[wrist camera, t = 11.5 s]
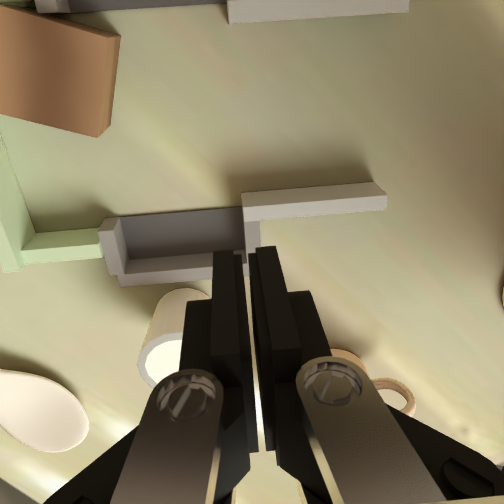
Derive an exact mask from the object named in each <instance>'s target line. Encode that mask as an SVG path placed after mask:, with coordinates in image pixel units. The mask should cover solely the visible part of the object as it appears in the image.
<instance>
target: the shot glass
mask: <svg viewBox="0 0 504 504" xmlns="http://www.w3.org/2000/svg"><path fill="white" fill-rule="evenodd" d="M203 299H210V297H209V296H208V295H206V294H204V293H203V292H201V291H199V290H195V289H191V288H181V289H175V290H173V291H171V292H169V293H167V294H165V295H164V296H163V297H162V298H161V299H160V301H159V302H158V304H157V307H156V309H155V312H154V315H153V318H152V320H151V323H150V326H149V329H148V331H147V334H146V337H145V340H144V342H143V345H142V348H141V351H140V354H139V358H138V363H137V366H138V370H139V373H140V376H141V378H142V379H143V380H144V381H145V382H146V383H147V384H148V385H149V386H150V387H152V388H154V387H155V386H156V385H157V384H158V383H159V382H160V381H161V380H162V379H163V378H165V377H167V376H168V375H170V374H172V373H174V372H177V371H179V362H180V353H181V345H182V336H183V327H184V319H185V310H186V303H187V301H192V300H203Z"/></svg>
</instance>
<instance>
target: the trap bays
mask: <svg viewBox="0 0 504 504" xmlns="http://www.w3.org/2000/svg"><path fill="white" fill-rule="evenodd" d="M34 1H35V5H36V8H37V12H38V13H41V14H61V13H77V12H92V11H107V10H123V9H138V8H154V7H169V6H185V5H200V4H216V3H227V1H231V0H34ZM97 232H98V236H99V240H100V243H101V247H102V251H103V255H104V258H105V262H106V266H107V269H108V273H109V276H114V275H117V278H118V282H119V286H120V287H131V286H142V285H153V284H164V283H175V282H186V281H197V280H208V279H212V272H213V251H218V250H230V249H233V252H234V254H242V263H243V273H244V276H249V263H248V253H255V247H261V240H260V221H250V222H244V217H243V210H242V207H231V208H219V209H207V210H195V211H184V212H172V213H160V214H148V215H136V216H124V217H113V218H105V219H104V221H103V223H102V224H101V226H100V228H99V230H98V231H97Z"/></svg>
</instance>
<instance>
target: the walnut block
mask: <svg viewBox="0 0 504 504" xmlns="http://www.w3.org/2000/svg"><path fill="white" fill-rule="evenodd" d="M120 39H121V36H119V35H116V34H113V33H109V32H106V31H103V30H99V29H96V28H93V27H89V26H86V25H83V24H79V23H76V22H73V21H69V20H66V19H63V18H59V17H56V16H53V15H50V14H41V13H38V12H37V11H36V10H33V9H30V8H26V7H19V6H7V5H0V114H3V115H7V116H11V117H15V118H19V119H23V120H27V121H31V122H35V123H39V124H43V125H47V126H51V127H55V128H59V129H63V130H67V131H71V132H75V133H79V134H83V135H87V136H91V137H95V138H98V137H99V136H100V135H101V134H102V133H103V132H104V131H105V130H106V129H107V128H108V127H109V126H110V123H111V115H112V106H113V98H114V90H115V81H116V73H117V64H118V56H119V48H120Z"/></svg>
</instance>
